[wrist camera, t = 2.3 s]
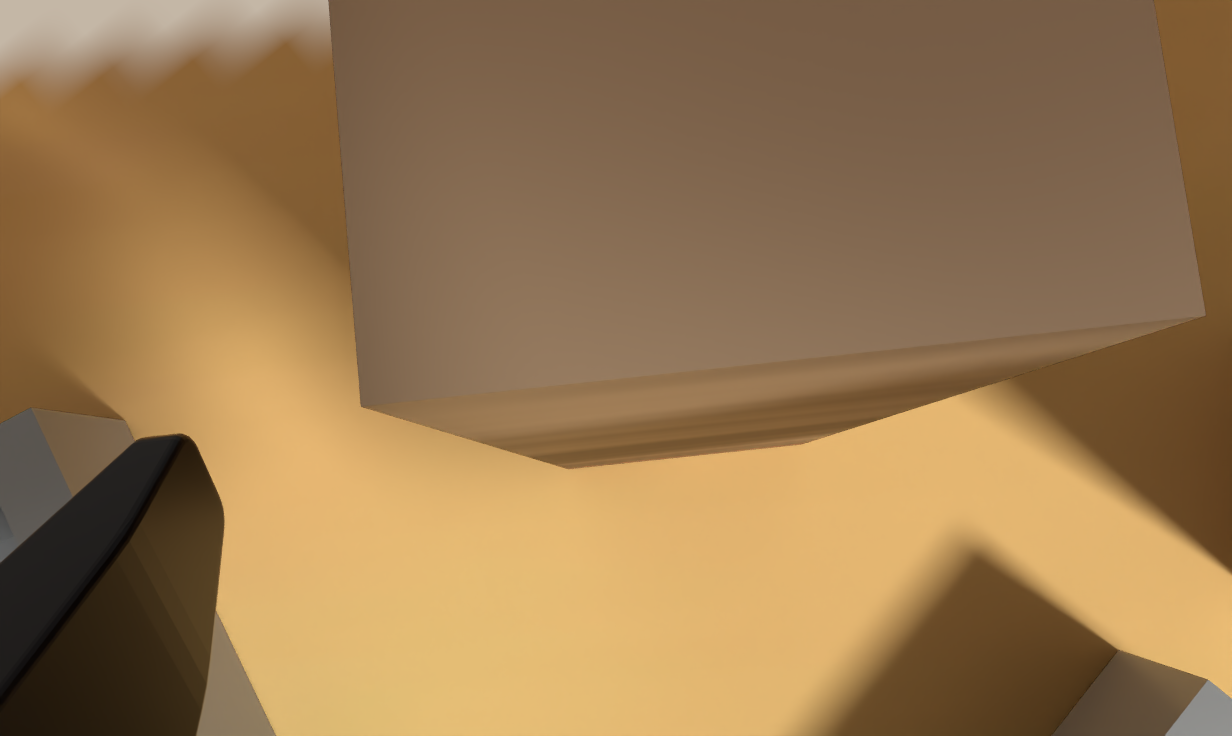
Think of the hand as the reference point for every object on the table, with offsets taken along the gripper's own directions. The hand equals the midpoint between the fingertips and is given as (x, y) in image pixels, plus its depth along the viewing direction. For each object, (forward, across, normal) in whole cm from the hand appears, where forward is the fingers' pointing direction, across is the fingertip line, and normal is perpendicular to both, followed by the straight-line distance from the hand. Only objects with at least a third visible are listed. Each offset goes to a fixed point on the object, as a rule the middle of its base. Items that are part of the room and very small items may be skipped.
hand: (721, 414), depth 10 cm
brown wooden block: (+8, 0, +6) cm, 10 cm away
